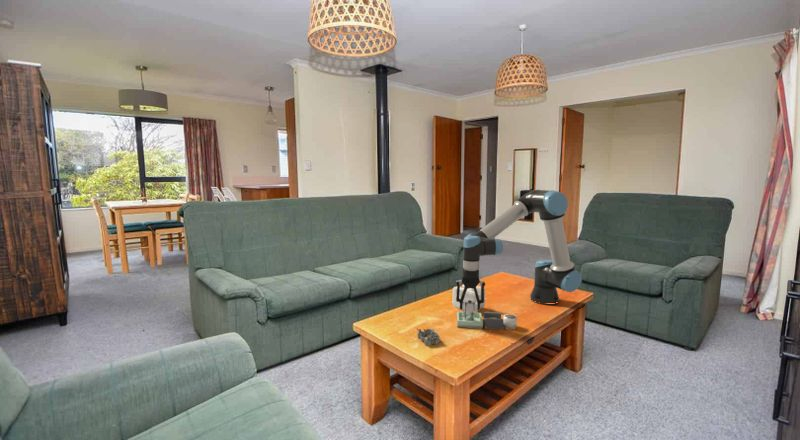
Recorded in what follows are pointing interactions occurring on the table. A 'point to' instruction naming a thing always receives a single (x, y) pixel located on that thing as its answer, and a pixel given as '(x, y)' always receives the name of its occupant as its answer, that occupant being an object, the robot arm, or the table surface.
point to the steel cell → (469, 310)
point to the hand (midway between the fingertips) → (469, 315)
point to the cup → (509, 321)
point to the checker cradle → (493, 320)
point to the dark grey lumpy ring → (428, 336)
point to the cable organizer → (467, 296)
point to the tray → (469, 324)
